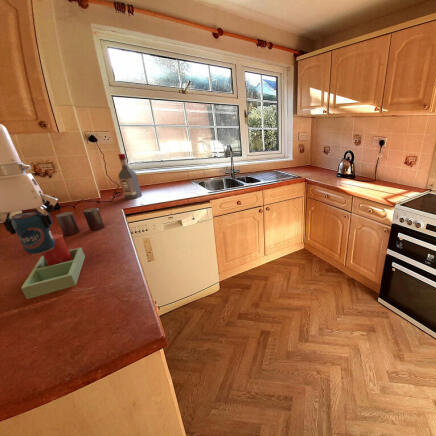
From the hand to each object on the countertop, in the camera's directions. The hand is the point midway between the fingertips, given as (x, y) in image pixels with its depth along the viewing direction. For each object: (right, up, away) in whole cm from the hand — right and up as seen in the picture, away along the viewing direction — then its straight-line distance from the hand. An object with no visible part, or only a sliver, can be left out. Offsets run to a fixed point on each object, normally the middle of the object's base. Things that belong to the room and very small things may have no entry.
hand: (32, 229), depth 73 cm
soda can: (0, -7, +3) cm, 7 cm away
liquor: (-35, +18, +101) cm, 108 cm away
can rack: (-2, -17, +11) cm, 20 cm away
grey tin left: (-28, -4, +44) cm, 53 cm away
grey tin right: (-20, -2, +49) cm, 53 cm away
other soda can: (-5, -15, +15) cm, 21 cm away
